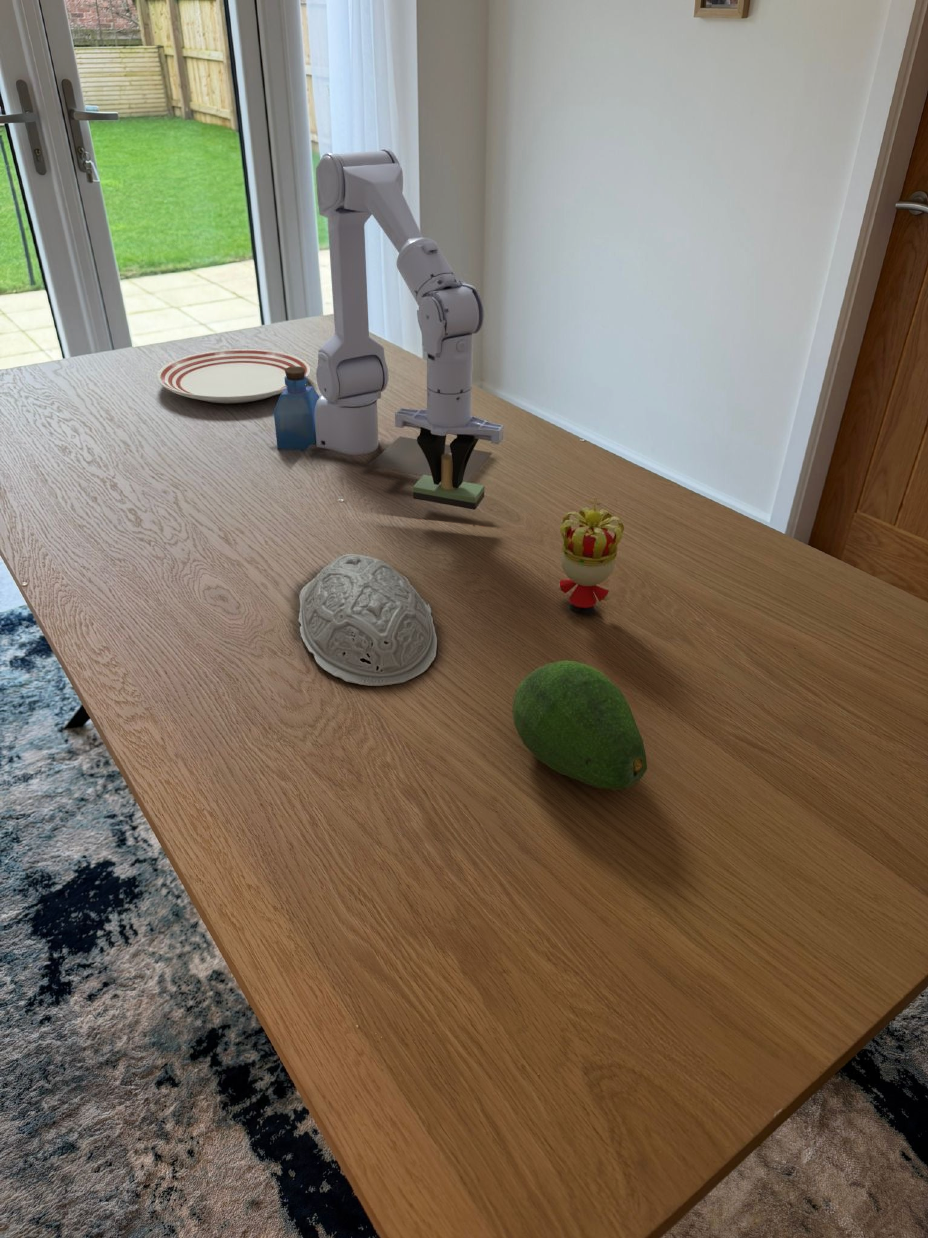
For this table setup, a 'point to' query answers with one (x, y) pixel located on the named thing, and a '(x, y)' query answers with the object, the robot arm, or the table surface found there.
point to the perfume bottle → (296, 412)
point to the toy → (588, 556)
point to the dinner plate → (229, 375)
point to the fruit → (579, 725)
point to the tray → (420, 459)
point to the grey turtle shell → (366, 622)
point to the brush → (448, 488)
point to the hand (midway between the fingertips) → (447, 483)
